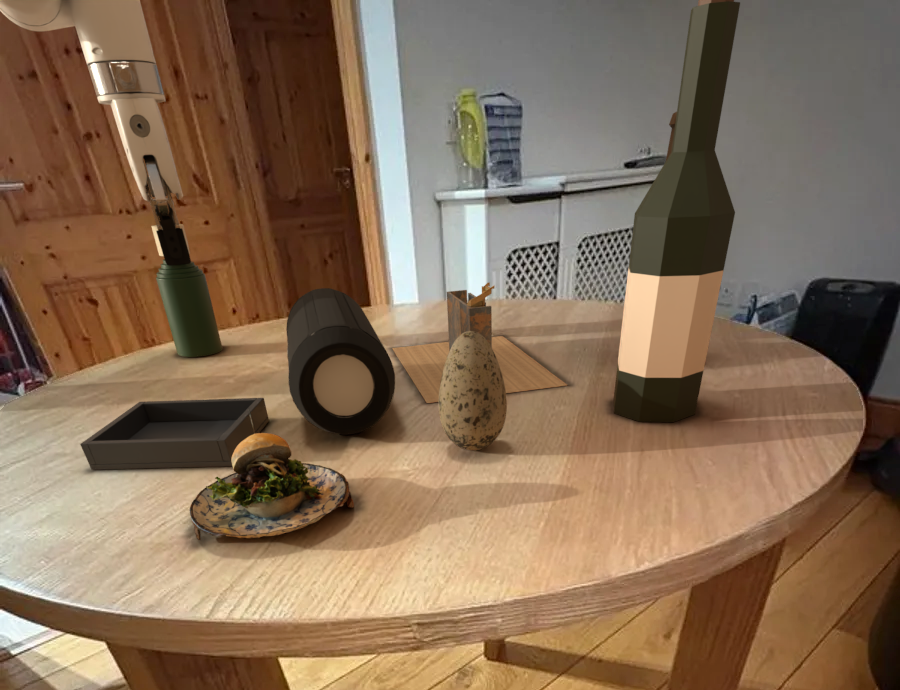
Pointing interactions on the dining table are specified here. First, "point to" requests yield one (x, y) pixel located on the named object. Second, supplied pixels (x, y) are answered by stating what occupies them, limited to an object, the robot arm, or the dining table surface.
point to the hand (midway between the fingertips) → (178, 261)
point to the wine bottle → (680, 240)
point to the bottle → (189, 309)
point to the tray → (176, 434)
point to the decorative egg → (472, 393)
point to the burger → (267, 492)
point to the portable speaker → (337, 363)
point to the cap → (154, 229)
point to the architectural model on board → (477, 317)
